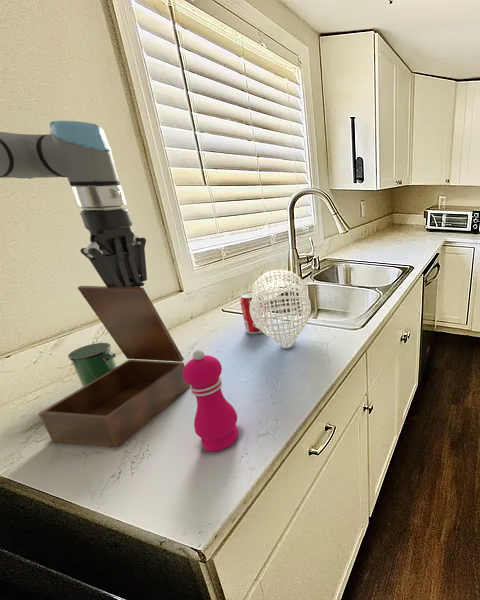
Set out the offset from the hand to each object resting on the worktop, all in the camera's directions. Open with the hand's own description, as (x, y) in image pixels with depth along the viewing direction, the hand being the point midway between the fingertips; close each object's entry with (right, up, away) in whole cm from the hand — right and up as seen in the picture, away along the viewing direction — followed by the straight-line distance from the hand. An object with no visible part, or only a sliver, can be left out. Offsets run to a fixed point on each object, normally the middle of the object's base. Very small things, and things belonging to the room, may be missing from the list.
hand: (138, 315), depth 74 cm
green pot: (-15, -18, +7) cm, 24 cm away
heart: (+26, -11, +25) cm, 37 cm away
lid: (0, -3, -1) cm, 3 cm away
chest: (-1, -21, -2) cm, 21 cm away
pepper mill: (+24, -24, -10) cm, 36 cm away
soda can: (+12, -7, +35) cm, 38 cm away
